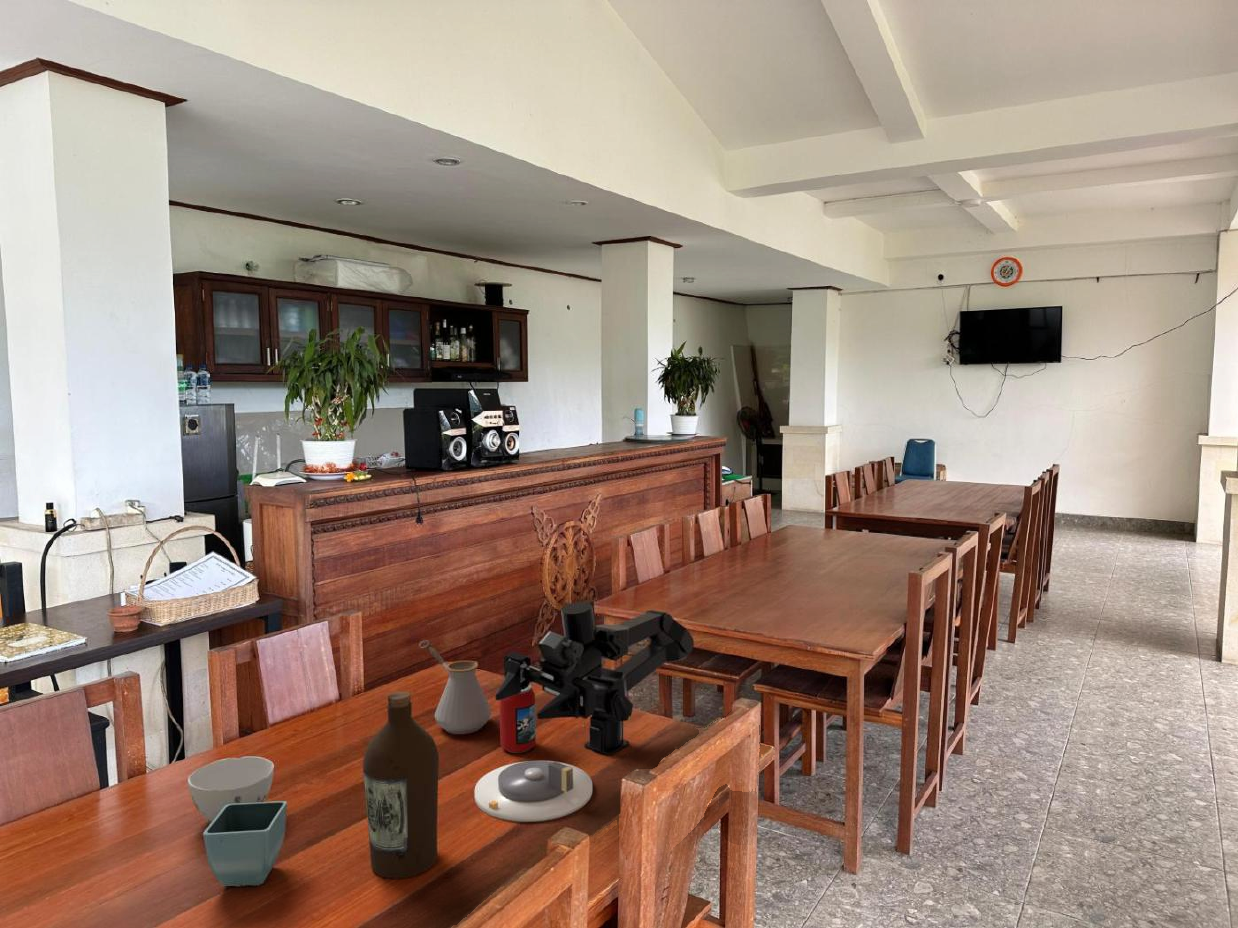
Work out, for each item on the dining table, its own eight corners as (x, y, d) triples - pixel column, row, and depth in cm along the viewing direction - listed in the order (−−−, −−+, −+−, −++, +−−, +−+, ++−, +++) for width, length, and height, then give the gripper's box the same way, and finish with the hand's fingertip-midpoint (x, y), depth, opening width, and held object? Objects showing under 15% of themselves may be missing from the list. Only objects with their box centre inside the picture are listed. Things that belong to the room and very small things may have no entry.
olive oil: (396, 836, 130) (391, 678, 128) (455, 849, 127) (451, 687, 124) (350, 873, 121) (344, 703, 118) (413, 888, 117) (408, 713, 115)
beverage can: (529, 756, 158) (528, 694, 157) (495, 753, 160) (494, 691, 159) (540, 741, 165) (539, 681, 164) (507, 739, 166) (506, 679, 165)
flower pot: (228, 861, 124) (225, 802, 123) (290, 858, 125) (288, 799, 124) (204, 897, 115) (201, 834, 114) (271, 893, 116) (268, 830, 115)
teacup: (286, 821, 135) (284, 773, 135) (201, 848, 127) (198, 797, 127) (258, 787, 147) (255, 742, 146) (178, 810, 139) (176, 763, 138)
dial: (483, 787, 144) (482, 758, 143) (533, 762, 153) (532, 735, 152) (544, 813, 135) (544, 782, 134) (593, 785, 144) (593, 756, 143)
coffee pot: (503, 727, 172) (501, 655, 171) (454, 743, 165) (452, 668, 163) (447, 699, 188) (445, 633, 187) (400, 713, 180) (398, 644, 179)
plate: (533, 756, 159) (533, 746, 158) (616, 786, 146) (616, 776, 146) (449, 796, 143) (449, 786, 143) (534, 834, 131) (534, 823, 130)
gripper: (533, 611, 156) (473, 647, 143) (616, 641, 146) (559, 683, 133) (534, 664, 159) (476, 703, 147) (616, 697, 149) (560, 742, 137)
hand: (516, 706), depth 141 cm, fingers open, 9 cm apart
